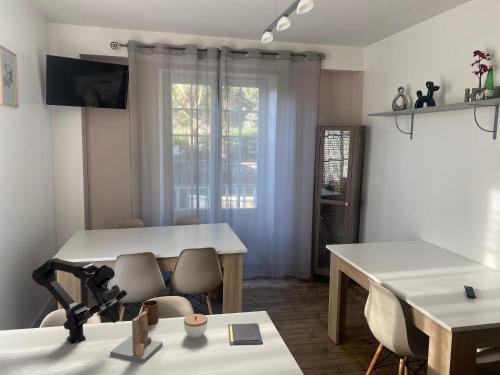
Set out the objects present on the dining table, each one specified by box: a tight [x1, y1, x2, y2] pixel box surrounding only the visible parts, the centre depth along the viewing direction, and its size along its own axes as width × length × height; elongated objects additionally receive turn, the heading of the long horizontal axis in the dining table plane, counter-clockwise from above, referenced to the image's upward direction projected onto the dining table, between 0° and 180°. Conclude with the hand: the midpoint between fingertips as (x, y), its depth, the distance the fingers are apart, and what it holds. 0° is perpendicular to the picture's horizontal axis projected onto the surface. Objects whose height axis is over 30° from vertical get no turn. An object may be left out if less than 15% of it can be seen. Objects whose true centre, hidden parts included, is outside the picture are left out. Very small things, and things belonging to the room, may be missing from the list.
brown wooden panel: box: [131, 311, 149, 354], centre depth 160 cm, size 9×2×14 cm, turn 163°
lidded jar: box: [183, 313, 209, 339], centre depth 176 cm, size 11×11×9 cm
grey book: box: [227, 322, 264, 346], centre depth 178 cm, size 20×2×15 cm
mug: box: [141, 299, 159, 326], centre depth 187 cm, size 12×8×9 cm, turn 176°
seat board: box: [109, 335, 163, 363], centre depth 163 cm, size 16×14×6 cm
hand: (116, 321), depth 163 cm, fingers closed
